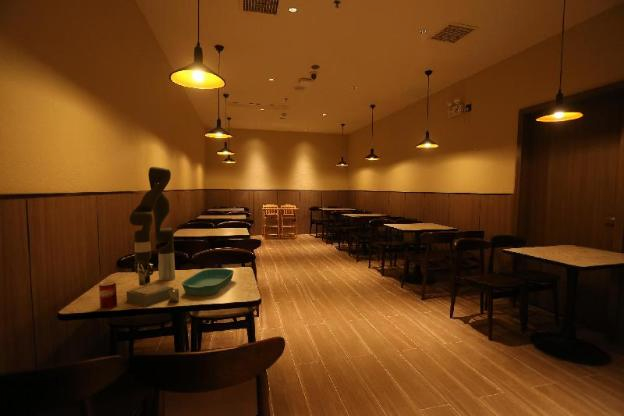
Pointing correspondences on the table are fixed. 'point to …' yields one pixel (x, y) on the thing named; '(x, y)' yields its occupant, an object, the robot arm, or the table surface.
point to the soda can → (108, 295)
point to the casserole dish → (207, 281)
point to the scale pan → (149, 289)
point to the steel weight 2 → (173, 296)
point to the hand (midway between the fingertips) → (144, 282)
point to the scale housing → (148, 296)
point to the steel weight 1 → (142, 279)
